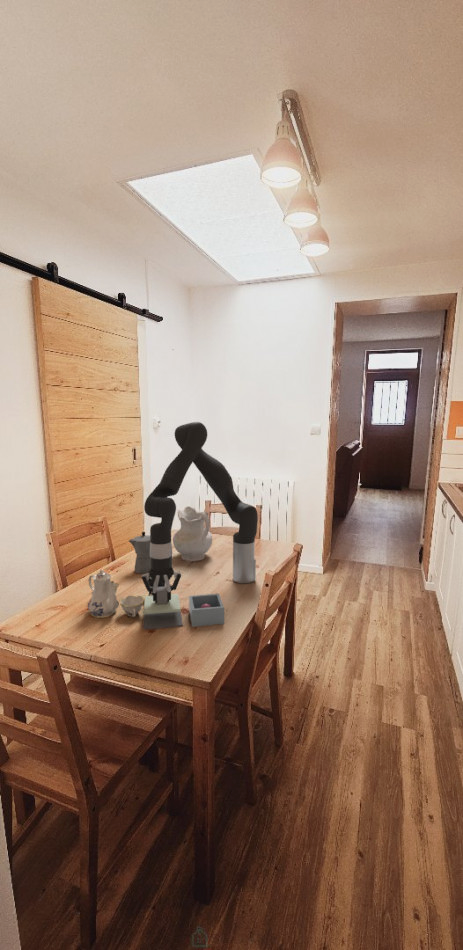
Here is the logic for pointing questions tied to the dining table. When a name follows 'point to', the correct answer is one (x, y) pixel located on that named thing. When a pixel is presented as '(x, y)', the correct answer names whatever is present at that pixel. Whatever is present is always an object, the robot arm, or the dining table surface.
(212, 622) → the square storage bin
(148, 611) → the cover
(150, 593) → the black battery charger
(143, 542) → the coffeepot
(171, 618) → the mat
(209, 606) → the plum
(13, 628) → the dining table surface
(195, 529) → the ceramic pitcher
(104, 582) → the chinaware
